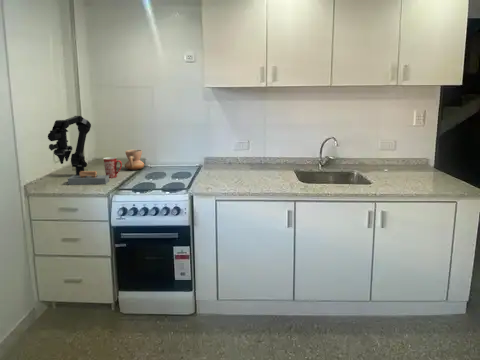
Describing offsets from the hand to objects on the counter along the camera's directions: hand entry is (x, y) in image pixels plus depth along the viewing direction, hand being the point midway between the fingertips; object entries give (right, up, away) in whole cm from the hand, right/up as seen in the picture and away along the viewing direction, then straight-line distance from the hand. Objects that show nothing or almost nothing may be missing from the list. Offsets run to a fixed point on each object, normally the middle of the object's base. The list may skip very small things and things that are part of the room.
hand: (64, 162), depth 298 cm
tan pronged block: (+18, -13, -6) cm, 23 cm away
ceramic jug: (+38, -4, +38) cm, 54 cm away
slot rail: (+18, -14, -5) cm, 23 cm away
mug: (+30, -10, +12) cm, 33 cm away
